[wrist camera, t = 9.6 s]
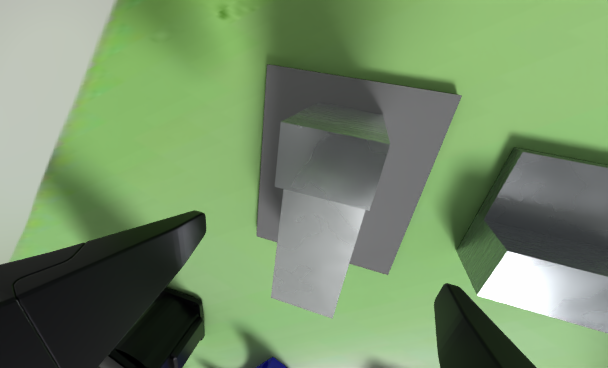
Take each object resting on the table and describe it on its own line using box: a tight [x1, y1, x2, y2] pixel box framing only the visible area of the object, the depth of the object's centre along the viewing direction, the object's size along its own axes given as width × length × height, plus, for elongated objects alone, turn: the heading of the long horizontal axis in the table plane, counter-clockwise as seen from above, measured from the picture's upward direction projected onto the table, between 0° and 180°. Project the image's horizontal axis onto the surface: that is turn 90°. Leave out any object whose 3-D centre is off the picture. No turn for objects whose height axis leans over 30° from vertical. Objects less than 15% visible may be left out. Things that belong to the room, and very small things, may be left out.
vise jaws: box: [457, 147, 608, 333], centre depth 17 cm, size 7×30×4 cm, turn 172°
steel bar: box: [271, 102, 390, 318], centre depth 12 cm, size 4×10×6 cm, turn 172°
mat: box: [257, 64, 462, 275], centre depth 15 cm, size 10×12×1 cm
